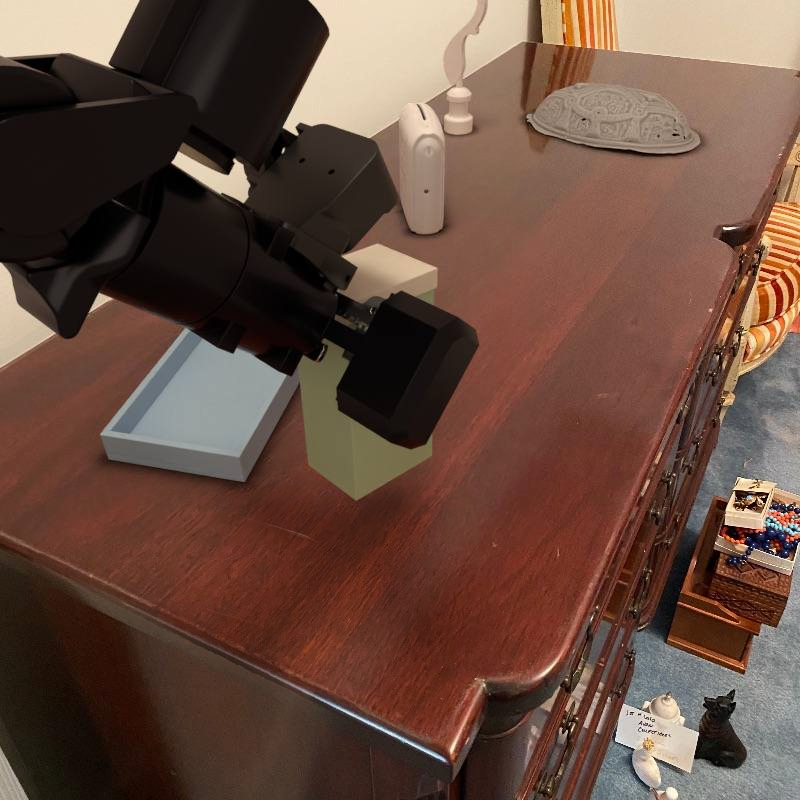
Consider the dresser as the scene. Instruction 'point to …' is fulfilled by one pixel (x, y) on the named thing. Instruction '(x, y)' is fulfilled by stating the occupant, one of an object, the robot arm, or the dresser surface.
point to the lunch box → (324, 425)
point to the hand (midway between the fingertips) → (385, 356)
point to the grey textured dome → (614, 119)
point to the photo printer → (422, 168)
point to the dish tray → (200, 411)
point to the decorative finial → (460, 75)
